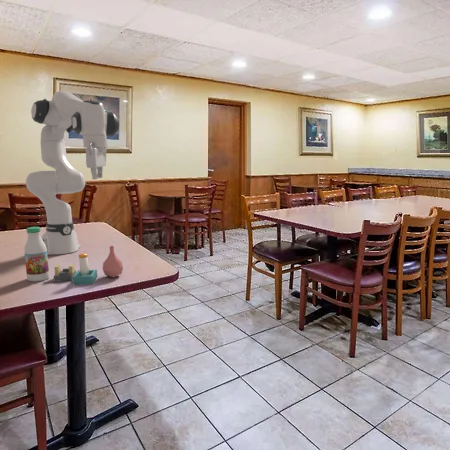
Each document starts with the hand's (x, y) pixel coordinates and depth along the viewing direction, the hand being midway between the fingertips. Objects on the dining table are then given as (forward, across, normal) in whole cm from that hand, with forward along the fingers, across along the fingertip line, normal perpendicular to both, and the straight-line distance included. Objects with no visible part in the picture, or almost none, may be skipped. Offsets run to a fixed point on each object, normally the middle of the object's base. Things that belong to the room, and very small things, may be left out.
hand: (97, 178), depth 156 cm
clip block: (+37, -12, +12) cm, 41 cm away
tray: (+37, -16, +4) cm, 41 cm away
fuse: (+36, -16, +4) cm, 40 cm away
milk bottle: (+37, -11, +22) cm, 45 cm away
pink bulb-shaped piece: (+37, -12, -6) cm, 40 cm away
